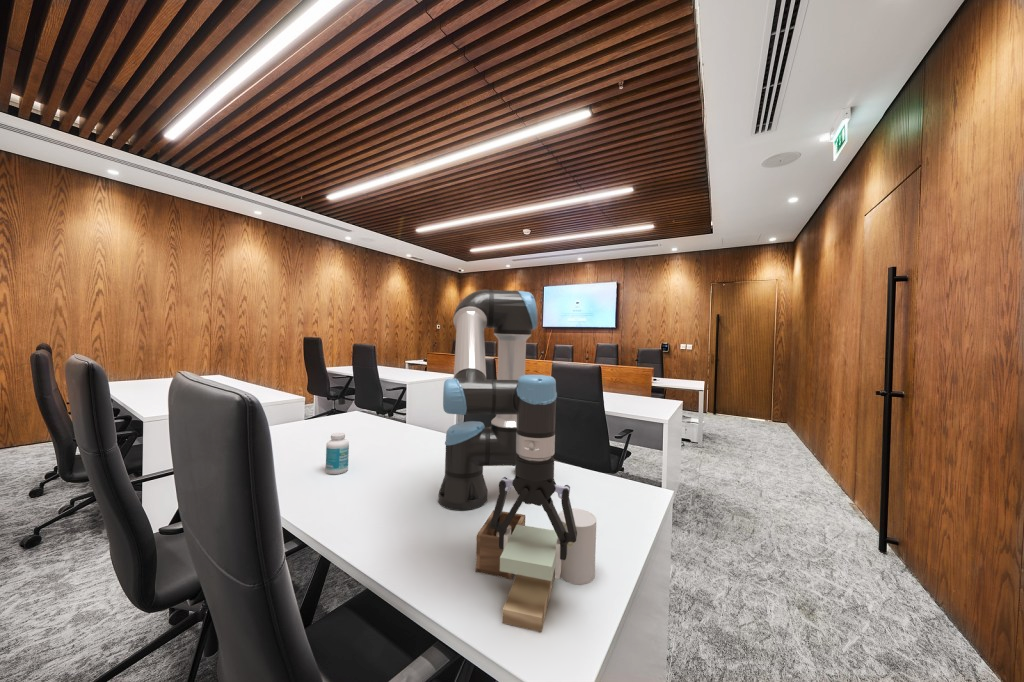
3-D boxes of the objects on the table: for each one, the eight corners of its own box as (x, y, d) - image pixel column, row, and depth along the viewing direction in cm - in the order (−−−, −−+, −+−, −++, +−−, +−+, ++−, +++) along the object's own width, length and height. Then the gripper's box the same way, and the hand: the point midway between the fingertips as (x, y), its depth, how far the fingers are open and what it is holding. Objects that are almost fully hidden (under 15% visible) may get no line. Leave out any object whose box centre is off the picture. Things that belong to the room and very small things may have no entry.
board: (541, 632, 64) (541, 617, 64) (502, 623, 66) (502, 609, 66) (554, 575, 80) (555, 563, 80) (522, 569, 81) (523, 557, 81)
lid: (551, 585, 65) (551, 566, 65) (499, 575, 68) (500, 557, 68) (560, 547, 77) (561, 531, 77) (516, 539, 80) (516, 524, 80)
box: (511, 579, 78) (512, 541, 78) (475, 571, 80) (476, 535, 80) (524, 547, 90) (525, 514, 89) (492, 542, 92) (493, 510, 91)
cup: (553, 561, 85) (555, 508, 84) (588, 560, 85) (590, 508, 85) (561, 585, 77) (562, 527, 76) (599, 583, 77) (601, 526, 77)
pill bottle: (342, 475, 131) (343, 437, 131) (321, 474, 131) (322, 436, 131) (351, 468, 139) (352, 432, 139) (332, 467, 139) (332, 431, 139)
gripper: (474, 454, 72) (471, 570, 72) (592, 468, 66) (588, 593, 66) (487, 444, 79) (484, 549, 79) (594, 455, 73) (590, 568, 73)
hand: (531, 569), depth 73 cm, fingers closed on lid, 9 cm apart
